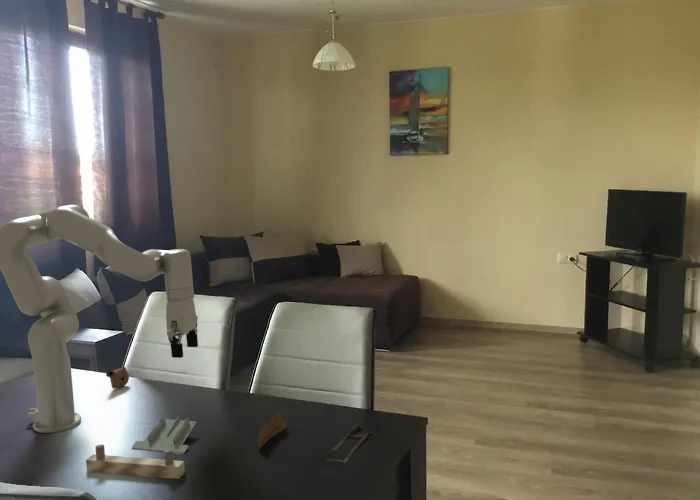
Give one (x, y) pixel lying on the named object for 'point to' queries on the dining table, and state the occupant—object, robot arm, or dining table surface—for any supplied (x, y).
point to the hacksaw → (363, 438)
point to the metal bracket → (167, 436)
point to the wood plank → (270, 429)
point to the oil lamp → (118, 377)
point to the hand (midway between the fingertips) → (185, 351)
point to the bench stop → (135, 465)
